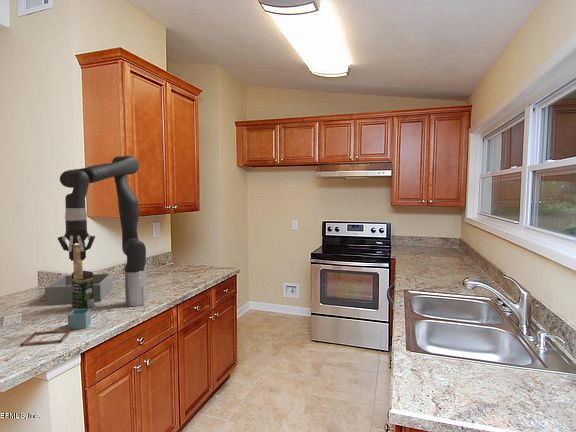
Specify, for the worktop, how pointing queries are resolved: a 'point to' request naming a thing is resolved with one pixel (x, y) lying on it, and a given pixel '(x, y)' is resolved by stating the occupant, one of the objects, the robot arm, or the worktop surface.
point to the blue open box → (79, 319)
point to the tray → (26, 342)
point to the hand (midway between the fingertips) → (77, 260)
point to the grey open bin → (64, 293)
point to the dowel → (77, 262)
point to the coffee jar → (83, 291)
